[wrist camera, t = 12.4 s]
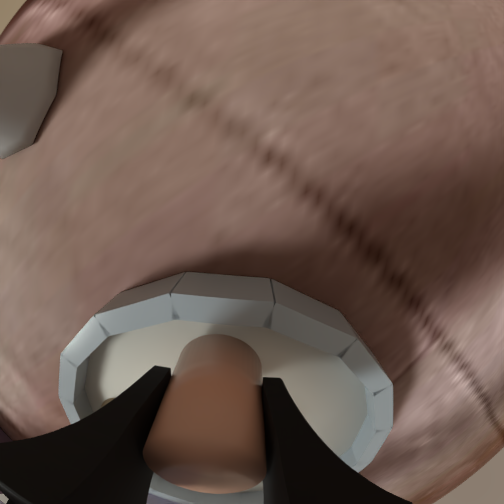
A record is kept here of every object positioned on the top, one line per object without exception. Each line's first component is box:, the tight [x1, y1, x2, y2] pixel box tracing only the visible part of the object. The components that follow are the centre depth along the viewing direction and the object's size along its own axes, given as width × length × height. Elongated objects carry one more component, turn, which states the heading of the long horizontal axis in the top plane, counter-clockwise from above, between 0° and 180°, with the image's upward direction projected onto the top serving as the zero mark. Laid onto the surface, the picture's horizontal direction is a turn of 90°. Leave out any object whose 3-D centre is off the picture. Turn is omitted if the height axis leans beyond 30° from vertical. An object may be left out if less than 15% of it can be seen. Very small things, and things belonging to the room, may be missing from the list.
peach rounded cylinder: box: [143, 334, 267, 494], centre depth 8 cm, size 3×3×5 cm
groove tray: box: [59, 272, 393, 504], centre depth 12 cm, size 18×18×2 cm
